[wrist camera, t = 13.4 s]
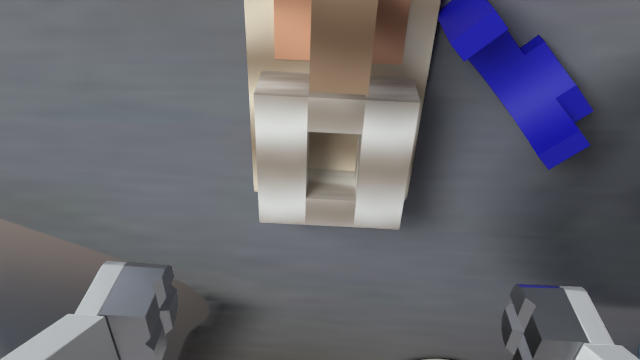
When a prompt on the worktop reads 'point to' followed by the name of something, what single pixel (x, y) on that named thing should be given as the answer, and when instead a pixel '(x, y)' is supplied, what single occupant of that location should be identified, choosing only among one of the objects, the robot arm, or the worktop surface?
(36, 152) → the worktop surface
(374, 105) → the board
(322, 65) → the plug
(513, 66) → the cable clip
